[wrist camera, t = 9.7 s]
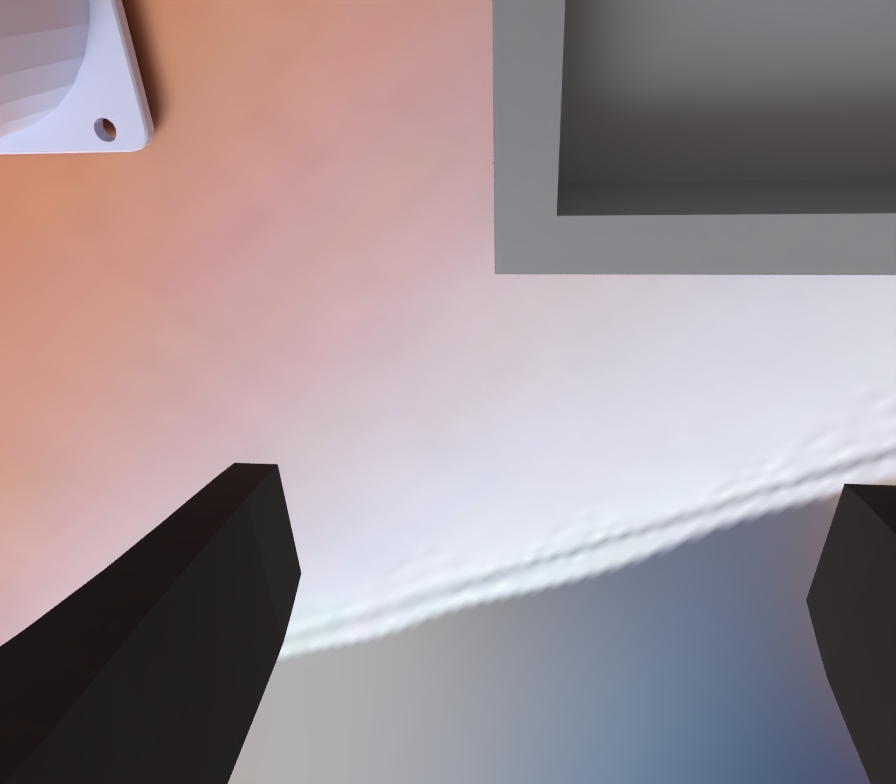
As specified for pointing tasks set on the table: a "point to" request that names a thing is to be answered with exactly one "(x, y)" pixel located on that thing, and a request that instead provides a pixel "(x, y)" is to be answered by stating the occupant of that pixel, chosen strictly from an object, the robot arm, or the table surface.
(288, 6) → the table surface
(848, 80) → the tray
